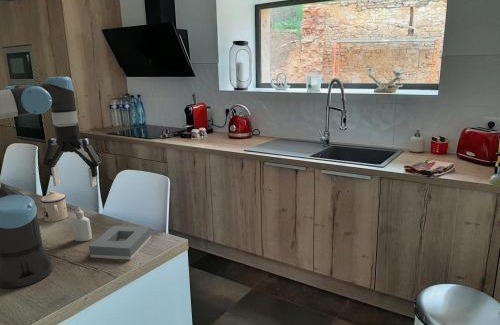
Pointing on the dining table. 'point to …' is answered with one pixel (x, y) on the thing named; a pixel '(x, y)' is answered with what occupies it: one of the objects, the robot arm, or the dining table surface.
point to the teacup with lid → (54, 207)
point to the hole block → (120, 242)
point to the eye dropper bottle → (81, 227)
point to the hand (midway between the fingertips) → (75, 185)
